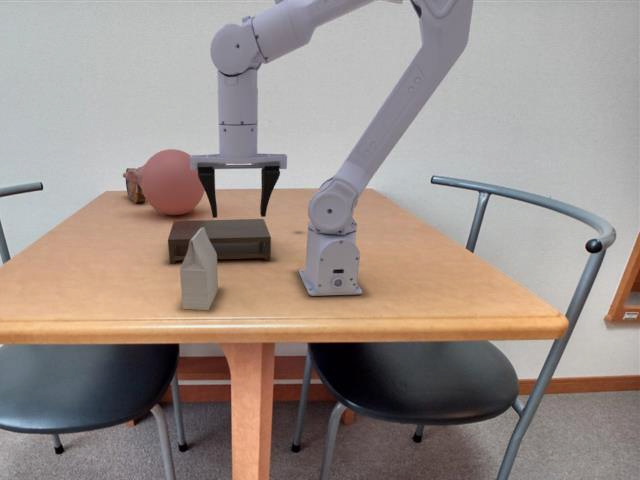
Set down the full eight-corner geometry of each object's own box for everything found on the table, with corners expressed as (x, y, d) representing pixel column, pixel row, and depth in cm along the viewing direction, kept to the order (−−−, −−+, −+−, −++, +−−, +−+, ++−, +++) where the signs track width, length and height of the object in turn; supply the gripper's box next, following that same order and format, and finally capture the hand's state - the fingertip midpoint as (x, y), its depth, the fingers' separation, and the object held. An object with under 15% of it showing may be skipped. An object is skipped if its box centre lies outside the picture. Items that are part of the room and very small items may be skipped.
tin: (126, 195, 128) (122, 165, 125) (136, 194, 129) (133, 165, 126) (137, 206, 116) (134, 173, 112) (149, 204, 117) (146, 173, 113)
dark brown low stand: (270, 260, 78) (270, 236, 76) (169, 263, 77) (167, 239, 75) (263, 240, 88) (263, 218, 87) (175, 242, 88) (173, 220, 86)
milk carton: (218, 290, 66) (215, 227, 62) (208, 310, 60) (205, 241, 56) (194, 289, 67) (190, 226, 63) (182, 308, 61) (177, 240, 57)
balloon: (138, 205, 116) (132, 145, 110) (211, 207, 114) (209, 145, 107) (116, 221, 103) (107, 153, 96) (199, 223, 100) (195, 154, 93)
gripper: (284, 121, 67) (281, 208, 73) (190, 122, 67) (194, 210, 72) (290, 124, 61) (286, 219, 67) (186, 126, 60) (192, 221, 66)
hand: (238, 215), depth 69 cm, fingers open, 7 cm apart
